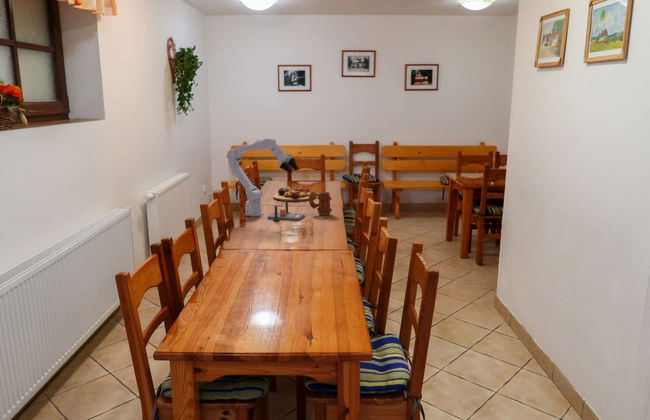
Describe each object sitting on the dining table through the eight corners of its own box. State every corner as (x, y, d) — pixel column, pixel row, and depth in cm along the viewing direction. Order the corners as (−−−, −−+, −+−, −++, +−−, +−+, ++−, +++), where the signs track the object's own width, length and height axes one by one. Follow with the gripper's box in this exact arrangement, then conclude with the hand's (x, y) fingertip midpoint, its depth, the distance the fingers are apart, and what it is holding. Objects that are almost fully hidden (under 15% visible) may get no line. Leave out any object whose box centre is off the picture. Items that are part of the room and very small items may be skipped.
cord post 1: (271, 221, 305) (271, 206, 303) (274, 219, 309) (274, 205, 307) (278, 221, 304) (277, 206, 302) (280, 220, 307) (280, 205, 306)
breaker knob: (280, 215, 313) (279, 209, 312) (281, 214, 316) (281, 208, 315) (284, 215, 312) (284, 210, 311) (286, 214, 315) (286, 209, 314)
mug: (332, 213, 324) (332, 190, 321) (331, 216, 316) (331, 192, 313) (309, 213, 326) (309, 190, 322) (308, 216, 318) (307, 192, 314)
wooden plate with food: (310, 203, 359) (310, 191, 357) (267, 201, 365) (267, 189, 364) (320, 195, 390) (320, 185, 388) (280, 194, 396) (280, 183, 395)
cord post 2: (282, 214, 322) (282, 200, 320) (285, 213, 325) (284, 199, 324) (288, 215, 321) (288, 201, 319) (291, 213, 324) (290, 200, 322)
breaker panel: (267, 218, 311) (267, 216, 311) (274, 214, 322) (274, 212, 322) (298, 220, 305) (298, 218, 305) (304, 216, 317) (304, 214, 316)
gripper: (277, 152, 301) (292, 169, 300) (289, 147, 313) (303, 164, 312) (270, 160, 305) (285, 177, 304) (282, 154, 317) (296, 171, 316)
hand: (294, 171), depth 308 cm, fingers open, 7 cm apart
